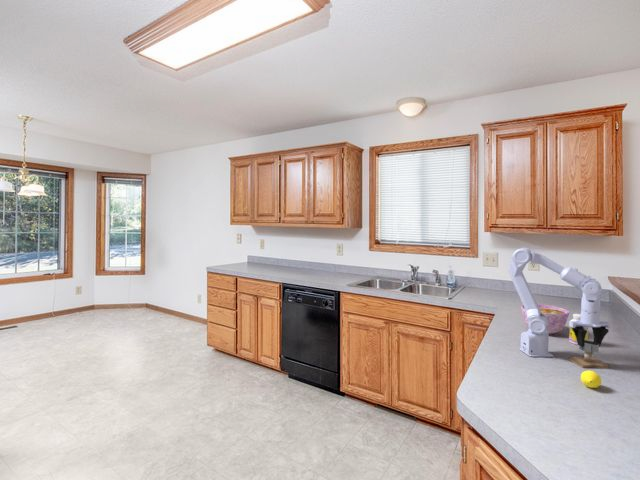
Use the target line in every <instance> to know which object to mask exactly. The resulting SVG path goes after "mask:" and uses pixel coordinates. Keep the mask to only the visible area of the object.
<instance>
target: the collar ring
mask: <svg viewBox="0 0 640 480" xmlns="http://www.w3.org/2000/svg"><path fill="white" fill-rule="evenodd" d="M578 346H579V345H578ZM578 349H579V350H581V351H582V352H584V351H586V352H590V353H592V354H599V351H600V347H599V343H597V342H594V340H589V339H588V340H585V342H584V347H581V346H579V348H578Z"/></svg>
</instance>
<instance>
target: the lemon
mask: <svg viewBox="0 0 640 480" xmlns="http://www.w3.org/2000/svg"><path fill="white" fill-rule="evenodd" d="M580 380H581V382H582V383H583V385H584V386H586V387H588V388H589V389H597V388H599V387H600V386H601V385H602V378H601V376H600V375H599V374H598V373H597V372H595V371H593V370H590V369H589V370H588V369H587V370H585V371H582V373H581V374H580Z"/></svg>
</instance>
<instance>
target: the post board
mask: <svg viewBox="0 0 640 480" xmlns="http://www.w3.org/2000/svg"><path fill="white" fill-rule="evenodd" d="M583 353H584V354H583V356H567V357H566V359H567V360H568V361H570V362H571V363H573V364H575V365H577V366H579V367H580V368H583V369H610V368H611V367H610V365H609V364H607V363H606V362H604V361H602V360H600V359H598V358H595V357H593V353H590V352H586V351H583Z"/></svg>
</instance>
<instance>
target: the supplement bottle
mask: <svg viewBox="0 0 640 480" xmlns="http://www.w3.org/2000/svg"><path fill="white" fill-rule="evenodd" d="M572 317H573V318H572V319H570V321H579V320H581V313H573V314H572ZM583 328H584V330H587V333H586V336H585V340H589V327H583ZM568 334H569V335H568V341H569V343H571V344H573V345H576V346H579V345H578V343H577V339H576V336H575V334H574V332H573V330H572V328H571V327H569V333H568Z"/></svg>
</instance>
